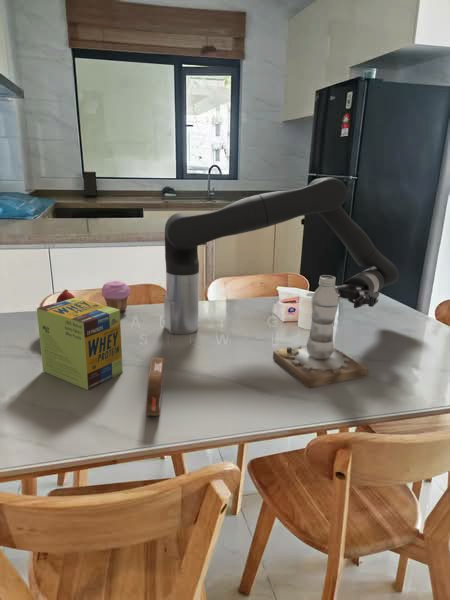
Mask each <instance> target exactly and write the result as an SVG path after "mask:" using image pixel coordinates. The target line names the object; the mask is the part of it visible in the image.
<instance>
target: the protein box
mask: <svg viewBox="0 0 450 600" xmlns="http://www.w3.org/2000/svg"><path fill="white" fill-rule="evenodd" d="M93 302H94V301H89V300H85V299H81V298H78V297H75V298H72V299H69V300H65V301H61V302H58V303H56V302H55V303H52V304H47V305H43V306H40V307H37V308H36V315H37V324H38V334H39V345H40V352H41V353H40V354H41V365H42V371H43V372H44V373H47V374H49V375H51V376H54V377H56V378H58V379H61V380H63V381H65V382H68V383H70V384H72V385H75V386H77V387H80V388H81V389H84V390H87V391H89V390H91V389H93V388H95V387H96V386H99V385H101V384H102V383H105V382H106V381H108V380H111V379H112V378H114V377H116V376H119V375H120V374H122V373H123V372H124V371H123V354H122V351H123V350H122V331H121V329H122V327H121V312H120V310H119V309H116V308H112V307H108V306H107V305H104V304H102V305H101V303H99V304H97V303H98V302H95V303H93Z"/></svg>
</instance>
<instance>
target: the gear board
mask: <svg viewBox="0 0 450 600" xmlns="http://www.w3.org/2000/svg"><path fill="white" fill-rule="evenodd" d="M272 352H273V353H272V354H273V355H272V359H273V360H274V361H275V362H277V364H279V365H280V366H281V367H283V368H284V369H285V370H286V371H287V372H289V373H290V374H291V375H292V376H294V377H295V378H296V379H298V380H299V381H300V382H301V383H303V384H304V386H306V387H307V388H308V389H311V388H315V387H321V386H326V385H330V384H334V383H339V382H345V381H348V380H349V381H350V380H353V379H358V378H363V377H367V373H368V368H367V367H365V366H364V365H362V364H360V363H359V362H357V360H355V359H353V358H351V357H350V356H349V355H347V354H345V353H344V352H343V351H340V350H338V349H336V348H335V347H334V350H333V353H332V355H331V356H330V357H329V358H328V359H315V358H313V357H311V356H309V354H308V352H307V345H300V346H298V347H291V346H290V347H289V346H288V347H282V348H280V349H279V350H273V351H272Z"/></svg>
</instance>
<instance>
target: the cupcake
mask: <svg viewBox="0 0 450 600" xmlns="http://www.w3.org/2000/svg"><path fill="white" fill-rule="evenodd" d="M130 295H131V289H130V287H129V286H128V285H127V284H126V283H125V282H124V281H121V280H114V281H113V280H112V281H111V280H110V281H107V282H105V283H104V284H103V286H102V288H101V296H102V298H104V301H105V304H106V306H108V307H112V308H116V309H119V310H120V313H121V312H124V311H125V310H126V309H127V306H128V297H129V296H130Z"/></svg>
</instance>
